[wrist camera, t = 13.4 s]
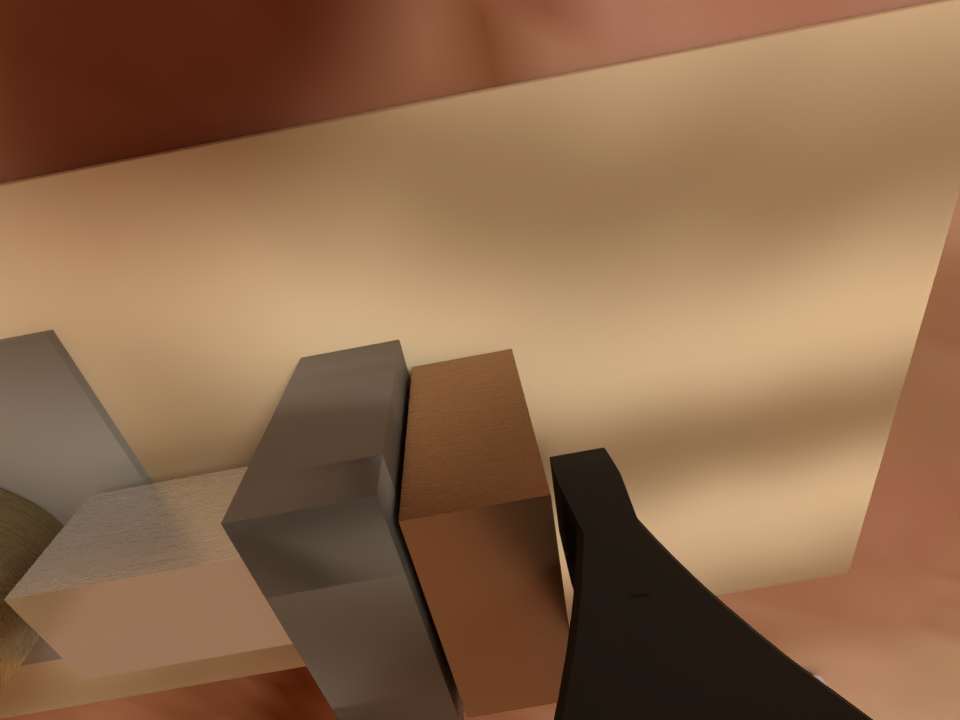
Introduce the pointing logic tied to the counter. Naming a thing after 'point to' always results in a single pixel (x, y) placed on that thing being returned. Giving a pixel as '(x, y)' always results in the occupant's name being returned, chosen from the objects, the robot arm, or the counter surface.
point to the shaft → (424, 523)
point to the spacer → (19, 573)
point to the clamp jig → (492, 324)
